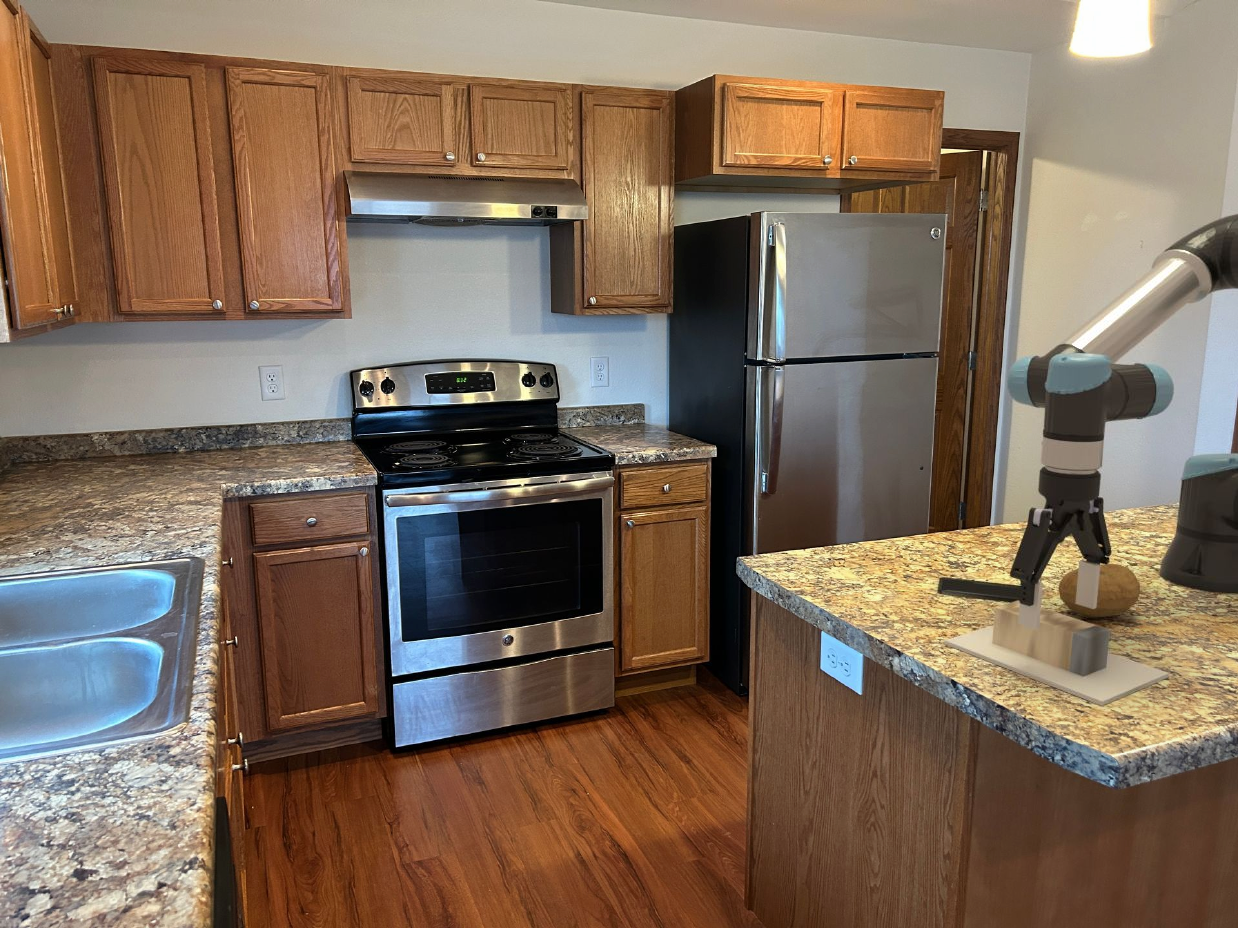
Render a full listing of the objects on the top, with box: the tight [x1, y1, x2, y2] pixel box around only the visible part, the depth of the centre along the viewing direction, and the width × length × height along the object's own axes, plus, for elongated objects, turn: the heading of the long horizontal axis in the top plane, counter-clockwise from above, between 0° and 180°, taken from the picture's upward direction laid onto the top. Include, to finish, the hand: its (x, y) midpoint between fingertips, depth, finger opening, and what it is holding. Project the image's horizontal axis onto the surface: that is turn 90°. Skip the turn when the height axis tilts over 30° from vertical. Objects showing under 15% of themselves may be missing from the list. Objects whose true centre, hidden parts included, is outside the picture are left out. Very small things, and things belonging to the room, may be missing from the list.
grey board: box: [944, 624, 1170, 707], centre depth 130 cm, size 24×16×1 cm, turn 33°
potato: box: [1058, 563, 1141, 619], centre depth 147 cm, size 10×14×8 cm
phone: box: [937, 576, 1020, 603], centre depth 159 cm, size 8×1×15 cm
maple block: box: [992, 601, 1111, 677], centre depth 130 cm, size 6×6×14 cm
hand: (1057, 615), depth 129 cm, fingers open, 13 cm apart
